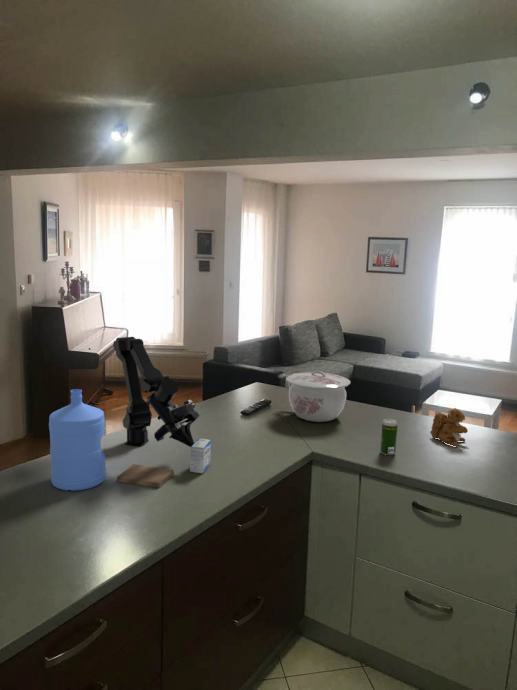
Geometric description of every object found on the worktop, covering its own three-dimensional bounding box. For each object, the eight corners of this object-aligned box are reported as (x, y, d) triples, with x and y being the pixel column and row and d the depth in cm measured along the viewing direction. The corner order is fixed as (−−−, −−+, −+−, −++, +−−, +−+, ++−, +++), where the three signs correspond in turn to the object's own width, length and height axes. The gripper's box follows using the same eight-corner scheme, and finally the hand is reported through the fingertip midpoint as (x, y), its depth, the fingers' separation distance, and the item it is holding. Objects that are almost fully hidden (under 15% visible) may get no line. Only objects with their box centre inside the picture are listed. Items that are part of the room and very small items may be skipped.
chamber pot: (353, 428, 212) (356, 379, 209) (285, 426, 213) (287, 377, 209) (343, 408, 240) (345, 364, 236) (283, 406, 240) (284, 362, 237)
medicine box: (202, 474, 165) (204, 448, 164) (189, 472, 166) (190, 446, 165) (210, 464, 173) (211, 439, 171) (197, 462, 174) (198, 437, 172)
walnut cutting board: (117, 481, 158) (117, 476, 158) (133, 468, 168) (133, 464, 168) (159, 487, 155) (159, 483, 155) (173, 474, 164) (173, 470, 164)
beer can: (398, 455, 185) (401, 422, 183) (385, 457, 184) (387, 424, 182) (389, 449, 190) (392, 418, 188) (377, 451, 189) (379, 419, 186)
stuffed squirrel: (457, 449, 193) (460, 414, 191) (422, 438, 204) (425, 405, 201) (470, 443, 200) (473, 409, 198) (436, 433, 210) (439, 401, 208)
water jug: (75, 497, 148) (71, 400, 143) (40, 483, 156) (35, 391, 151) (117, 477, 161) (115, 389, 156) (82, 465, 169) (79, 381, 164)
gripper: (161, 400, 160) (192, 441, 157) (194, 387, 176) (223, 424, 173) (141, 421, 164) (170, 461, 161) (175, 406, 181) (202, 442, 178)
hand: (193, 446), depth 168 cm, fingers closed
